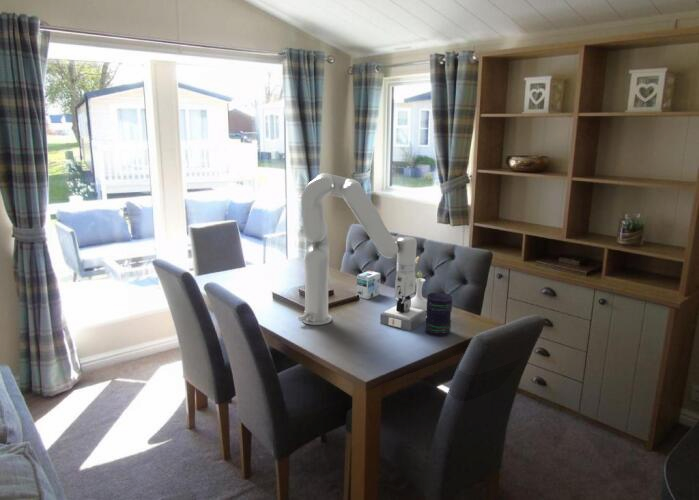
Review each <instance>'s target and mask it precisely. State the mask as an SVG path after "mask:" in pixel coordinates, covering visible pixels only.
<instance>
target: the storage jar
mask: <svg viewBox="0 0 699 500" xmlns="http://www.w3.org/2000/svg"><path fill="white" fill-rule="evenodd" d="M426 300H427V311H426V321H425V322H424V323H425V330H424V331H425V334H427V335H428V336H431V337H434V338H435V337H436V338H444V337H448V336H449V335H450V333H451V326H452V325H451V324H452V320H451V316H452V314H451V313H452V310H453V296H452V295H451V294H449V293H444V292H430V293H428V294H427V299H426Z"/></svg>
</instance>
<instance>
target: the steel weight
mask: <svg viewBox="0 0 699 500" xmlns="http://www.w3.org/2000/svg"><path fill="white" fill-rule="evenodd" d="M400 298H401V299H402V297H400ZM409 312H410V299H409V298H405V297H404V312H403V313H409ZM400 313H402V312H400Z"/></svg>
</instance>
